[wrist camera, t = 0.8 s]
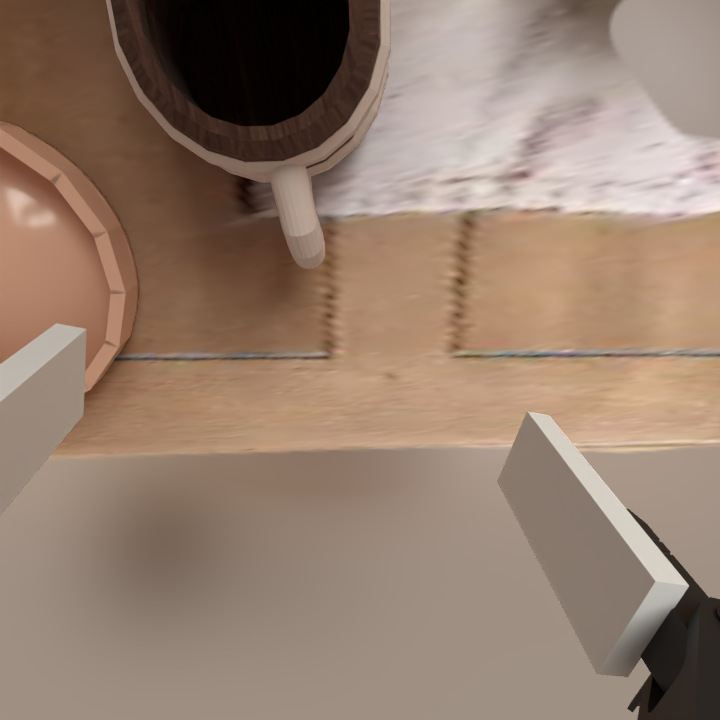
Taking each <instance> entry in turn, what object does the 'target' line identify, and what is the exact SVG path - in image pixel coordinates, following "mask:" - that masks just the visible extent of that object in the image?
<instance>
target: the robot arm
mask: <svg viewBox="0 0 720 720" xmlns="http://www.w3.org/2000/svg"><path fill="white" fill-rule="evenodd" d="M86 330H87V329H84V328H79V327H74V326H68V325H63V324H58V323H56V324H55V325H53V326H52V327H51V328H49V329H48V330H47V331H45V332H44V333H42V334H41V335H40V336H38V337H37V338H36V339H34V340H33V341H31V342H30V343H29V344H27V345H26V346H25V347H23V348H22V349H20V350H19V351H18V352H16V353H15V354H14V355H12V356H11V357H9V358H8V359H7V360H5V361H4V362H3V363H1V364H0V515H1V514H2V513H3V512H4V510H5V509H6V508H7V507H8V506H9V504H10V503H11V502H12V501H13V500H14V498H15V497H16V496H17V495H18V494H19V492H20V491H21V490H22V489H23V488H24V486H25V485H26V484H27V483H28V482H29V480H30V479H31V478H32V477H33V476H34V474H35V473H36V472H37V471H38V469H39V468H40V467H41V466H42V465H43V463H44V462H45V461H46V460H47V459H48V457H49V456H50V455H51V454H52V453H53V451H54V450H55V449H56V448H57V447H58V445H59V444H60V443H61V442H62V441H63V439H64V438H65V437H66V436H67V435H68V433H69V432H70V431H71V430H72V429H73V427H74V426H75V425H76V424H77V423H78V421H79V420H80V419H81V418H82V416H83V415H84V388H85V359H86ZM498 484H499V486H500V488H501V489H502V491H503V493H504V495H505V497H506V499H507V501H508V503H509V505H510V507H511V509H512V511H513V513H514V515H515V517H516V519H517V520H518V522H519V524H520V526H521V528H522V530H523V532H524V534H525V536H526V538H527V540H528V542H529V544H530V546H531V548H532V549H533V551H534V553H535V555H536V557H537V559H538V561H539V563H540V565H541V567H542V569H543V571H544V572H545V575H546V576H547V579H548V580H549V582H550V584H551V586H552V588H553V590H554V592H555V594H556V596H557V598H558V600H559V601H560V603H561V605H562V608H563V609H564V611H565V613H566V615H567V617H568V619H569V621H570V623H571V625H572V627H573V629H574V631H575V633H576V634H577V637H578V638H579V640H580V642H581V644H582V646H583V648H584V650H585V652H586V654H587V656H588V658H589V660H590V662H591V664H592V666H593V668H594V669H595V671H596V673H597V674H602V675H613V676H624V677H628V676H629V674H630V673H631V672H632V670H633V669H634V667H635V666H636V664H637V663H638V661H639V660H640V658H642V659H643V661H644V663H645V664H646V666H647V667H648V669H649V671H650V672H651V674H650V676H649V677H648V679H647V680H646V682H645V683H644V684H643V686H642V687H641V689H640V690H639V692H638V693H637V694H636V696H635V697H634V699H633V700H632V702H631V703H630V705H629V707H628V709H629V710H630V711H631V712H633V711H634V710H635V708H636V707H637V706H640V708H639V714H638V720H720V599H716V598H711V597H710V598H709V597H708V596H707V595H706V594H705V592H704V591H703V590H702V589H701V588H700V587H699V585H698V584H697V583H696V582H695V581H694V579H693V578H692V577H691V576H690V575H689V574H688V572H687V571H686V570H685V569H684V568H683V566H682V565H681V564H680V563H679V562H678V561H677V560H676V558H675V557H674V556H673V555H670V551H669V550H668V549H667V547H665V545H664V544H663V543H662V542H659V538H658V537H657V536H656V535H655V533H654V532H653V531H652V530H651V528H650V527H649V526H648V525H647V524H646V523H645V522H644V521H642V520H641V519H640V518H639V517H638V516H636V515H635V514H634V513H633V512H631V511H630V510H629V509H626V508H625V507H624V506H623V505H622V503H621V502H620V501H619V500H618V498H617V497H616V496H615V495H614V494H613V492H612V491H611V490H610V489H609V488H608V486H607V485H606V484H605V483H604V482H603V480H602V479H601V478H600V477H599V475H598V474H597V473H596V472H595V470H594V469H593V468H592V467H591V466H590V464H589V463H588V462H587V461H586V460H585V458H584V457H583V456H582V455H581V453H580V452H579V451H578V450H577V449H576V447H575V446H574V445H573V444H572V442H571V441H570V440H569V439H568V438H567V436H566V435H565V434H564V433H563V431H562V430H561V429H560V428H559V427H558V425H557V424H556V423H555V422H554V421H553V419H552V418H551V417H550V416H549V415H544V414H539V413H534V412H528V411H527V413H526V416H525V418H524V420H523V423H522V425H521V427H520V430H519V432H518V434H517V437H516V439H515V441H514V444H513V446H512V448H511V451H510V453H509V456H508V458H507V460H506V463H505V465H504V467H503V469H502V472H501V474H500V477H499V479H498Z"/></svg>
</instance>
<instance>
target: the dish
mask: <svg viewBox="0 0 720 720" xmlns="http://www.w3.org/2000/svg"><path fill="white" fill-rule="evenodd" d="M138 295H139V286H138V273H137V268H136V263H135V258H134V254H133V251H132V248H131V245H130V242H129V239H128V237H127V234H126V232H125V230H124V228H123V226H122V224H121V222H120V220H119V218H118V216H117V214H116V213H115V211H114V210H113V208H112V207H111V205H110V203H109V202H108V200H107V199H106V197H105V196H104V195H103V194H102V192H101V191H100V190H99V189H98V187H97V186H96V185H95V184H94V183H93V181H92V180H91V179H90V178H89V177H88V176H87V175H86V174H85V173H84V172H83V171H82V170H81V169H80V168H79V167H78V166H77V165H76V164H75V163H73V162H72V161H71V160H70V159H68V158H67V157H66V156H65V155H63V154H62V153H61V152H60V151H58V150H57V149H56V148H54V147H53V146H51V145H49V144H48V143H46V142H45V141H43V140H42V139H40V138H38V137H37V136H35V135H33V134H31V133H29V132H27V131H25V130H23V129H22V128H20V127H19V126H15V125H12V124H9V123H7V122H4V121H1V120H0V364H1V363H3V362H4V361H5V360H7V359H8V358H9V357H11V356H12V355H14V354H15V353H16V352H18V351H19V350H20V349H22V348H23V347H25V346H26V345H27V344H29V343H30V342H31V341H33V340H34V339H36V338H37V337H38V336H40V335H41V334H42V333H44V332H45V331H47V330H48V329H49V328H51V327H52V326H53V325H55V324H56V323H58V324H63V325H68V326H74V327H79V328H84V329H87V330H86V359H85V388H84V393H85V392H87V391H89V390H91V389H92V387H93V386H94V385H95V384H96V383H97V382H98V381H99V380H100V379H101V378H102V377H103V376H104V374H105V373H106V371H107V370H108V368H109V367H110V365H111V364H112V362H113V361H114V360H115V358H116V357H117V356H118V355H119V353H120V352H121V351H122V349H123V347H124V345H125V344H126V342H127V340H128V339H129V337H130V336H131V332H132V328H133V325H134V322H135V318H136V313H137V308H138Z"/></svg>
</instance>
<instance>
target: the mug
mask: <svg viewBox="0 0 720 720" xmlns="http://www.w3.org/2000/svg"><path fill="white" fill-rule="evenodd" d="M106 5H107V10H108V15H109V20H110V26H111V31H112V36H113V41H114V47H115V52H116V54H117V57H118V59H119V61H120V63H121V65H122V67H123V69H124V71H125V73H126V75H127V77H128V79H129V81H130V84H131V86H132V88H133V90H134V92H135V94H136V96H137V98H138V100H139V101H140V102H141V103H142V104H143V105H144V107H145V108H146V109H147V110H148V111H149V112H150V114H151V115H152V116H153V117H154V118H155V119H156V121H157V122H158V123H159V124H160V125H161V126H162V128H163V129H164V130H165V131H166V132H167V133H168V135H169V136H170V137H171V138H172V139H174V140H175V141H177V142H178V143H180V144H181V145H183V146H184V147H186V148H187V149H189V150H190V151H192V152H193V153H195V154H196V155H198V156H199V157H201V158H202V159H204V160H205V161H207V162H208V163H210V164H214V165H217V166H220V167H221V168H223V169H224V170H226V171H227V172H229V173H231V174H234V175H238V176H241V177H245V178H248V179H251V180H255V181H258V182H262V183H271V186H272V190H273V194H274V198H275V202H276V206H277V210H278V214H279V218H280V222H281V226H282V230H283V233H284V236H285V239H286V241H287V244H288V247H289V250H290V252H291V254H292V256H293V258H294V260H295V262H296V263H297V264H298V265H299V266H301V267H302V268H305V269H313V268H316V267H318V266H319V265H320V264H321V263H322V262H323V260H324V257H325V242H324V237H323V232H322V229H321V226H320V223H319V219H318V216H317V212H316V208H315V203H314V198H313V191H312V181H311V177H312V176H315V175H317V174H320V173H322V172H325V171H328V170H330V169H331V168H333V167H334V166H335V165H336V164H337V163H339V162H340V161H341V160H342V159H343V158H344V157H346V156H347V155H348V154H349V153H350V152H352V151H353V150H354V149H355V148H356V147H357V146H358V145H359V143H360V142H361V140H362V138H363V137H364V135H365V134H366V132H367V130H368V129H369V127H370V126H371V124H372V122H373V121H374V119H375V118H376V116H377V114H378V110H379V107H380V103H381V99H382V96H383V92H384V88H385V85H386V81H387V78H388V59H389V55H390V52H391V40H390V0H106Z"/></svg>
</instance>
